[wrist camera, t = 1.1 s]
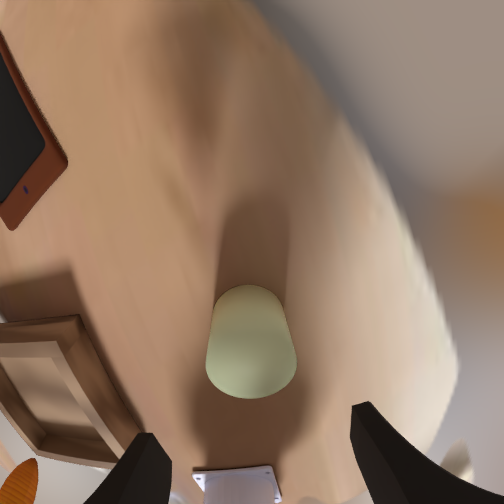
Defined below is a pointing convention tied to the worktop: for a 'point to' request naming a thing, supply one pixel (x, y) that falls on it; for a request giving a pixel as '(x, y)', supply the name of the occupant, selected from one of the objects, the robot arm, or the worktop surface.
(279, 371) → the green cylinder
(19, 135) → the smartphone
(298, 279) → the worktop surface
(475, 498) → the robot arm
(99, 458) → the walnut tray
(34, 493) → the carrot
